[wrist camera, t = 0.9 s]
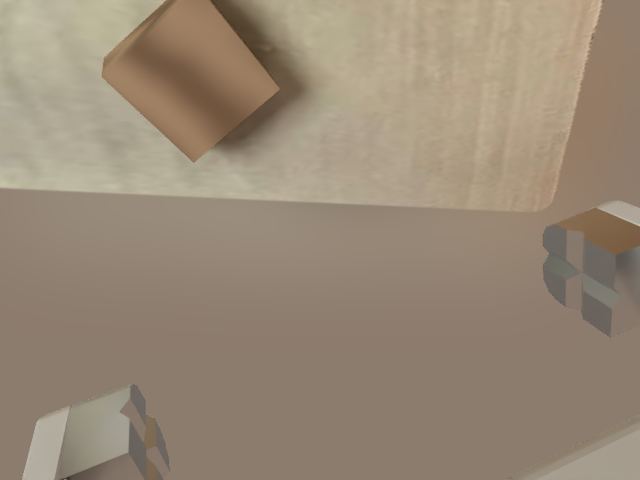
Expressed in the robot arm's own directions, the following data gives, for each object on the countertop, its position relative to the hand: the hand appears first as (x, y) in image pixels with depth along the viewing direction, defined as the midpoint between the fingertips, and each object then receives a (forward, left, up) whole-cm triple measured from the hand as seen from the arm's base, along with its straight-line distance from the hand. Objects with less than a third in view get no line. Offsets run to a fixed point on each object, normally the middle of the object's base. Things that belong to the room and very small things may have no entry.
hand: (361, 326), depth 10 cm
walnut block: (+4, +4, -37) cm, 37 cm away
